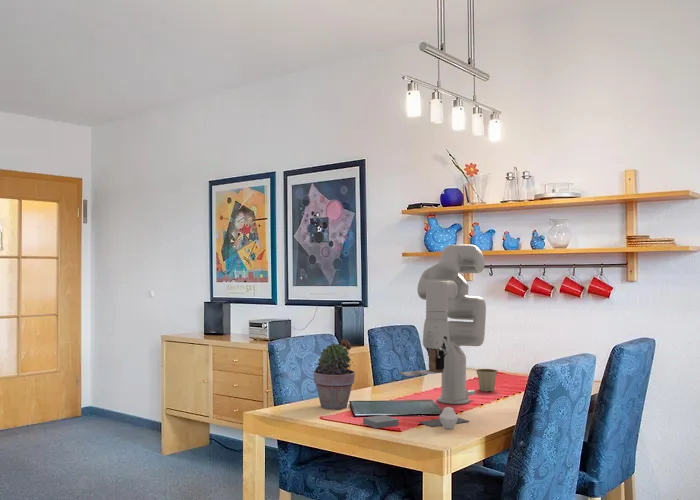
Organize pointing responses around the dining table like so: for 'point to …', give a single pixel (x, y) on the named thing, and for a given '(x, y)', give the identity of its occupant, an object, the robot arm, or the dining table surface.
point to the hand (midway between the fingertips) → (436, 367)
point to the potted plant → (334, 376)
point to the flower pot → (486, 379)
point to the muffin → (448, 418)
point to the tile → (380, 421)
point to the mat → (438, 423)
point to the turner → (431, 366)
